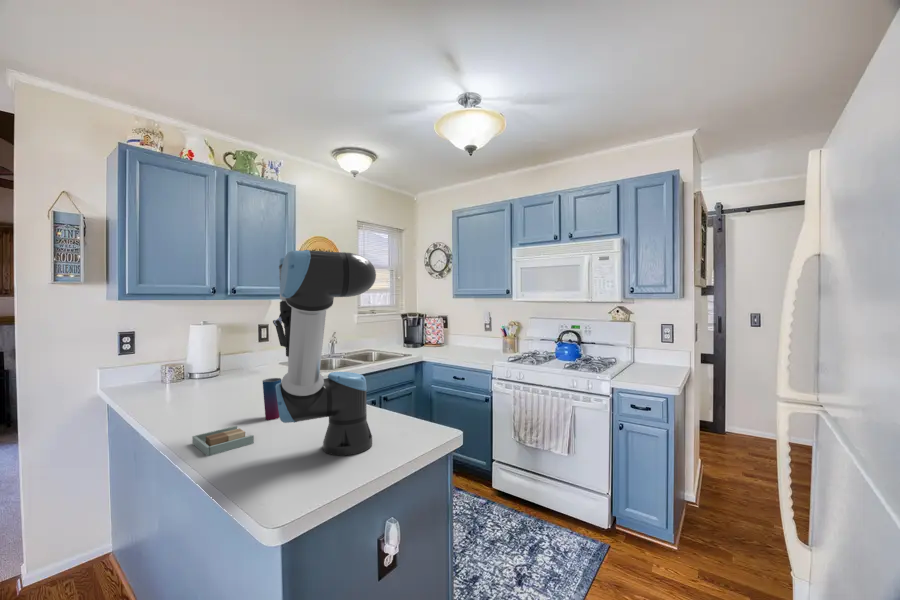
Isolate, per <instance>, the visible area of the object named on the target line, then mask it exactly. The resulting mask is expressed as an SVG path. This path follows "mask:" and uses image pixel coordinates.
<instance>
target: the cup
mask: <svg viewBox="0 0 900 600" xmlns="http://www.w3.org/2000/svg"><path fill="white" fill-rule="evenodd" d="M282 379H283V378H280V377H269V378H264V379H263V380H262V391H263V405H264V416H265V417H264V418H265V420H267V421H269V420H270V421H272V420H277V419H280V417H279V410H278V402H277V395H276V384H279V383H282Z"/></svg>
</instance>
